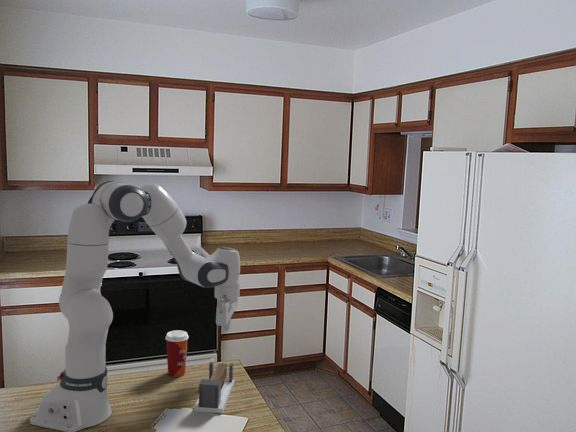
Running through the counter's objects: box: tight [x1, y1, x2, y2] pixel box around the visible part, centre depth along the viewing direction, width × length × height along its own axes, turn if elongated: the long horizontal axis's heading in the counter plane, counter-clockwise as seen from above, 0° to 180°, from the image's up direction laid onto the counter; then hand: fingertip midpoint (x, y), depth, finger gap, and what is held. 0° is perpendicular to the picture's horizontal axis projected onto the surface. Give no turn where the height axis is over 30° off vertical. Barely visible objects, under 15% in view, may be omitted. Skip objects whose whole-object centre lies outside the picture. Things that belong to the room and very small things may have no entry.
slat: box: [210, 362, 228, 389], centre depth 167 cm, size 3×14×5 cm, turn 176°
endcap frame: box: [193, 361, 235, 414], centre depth 162 cm, size 9×20×9 cm, turn 176°
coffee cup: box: [165, 329, 190, 378], centre depth 178 cm, size 8×8×15 cm
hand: (226, 329), depth 177 cm, fingers closed
